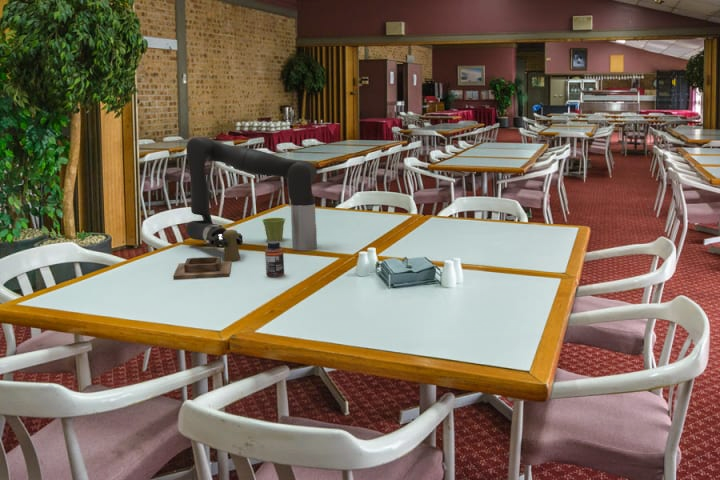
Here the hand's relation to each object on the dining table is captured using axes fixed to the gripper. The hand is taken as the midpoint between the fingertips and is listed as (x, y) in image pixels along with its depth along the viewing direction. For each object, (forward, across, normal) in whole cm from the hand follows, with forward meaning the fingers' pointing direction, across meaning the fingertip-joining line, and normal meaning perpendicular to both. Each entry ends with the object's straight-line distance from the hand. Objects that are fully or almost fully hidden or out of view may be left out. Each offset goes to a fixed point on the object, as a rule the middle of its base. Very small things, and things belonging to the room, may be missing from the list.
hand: (233, 243), depth 268 cm
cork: (-3, 0, +7) cm, 7 cm away
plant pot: (-25, +28, +7) cm, 38 cm away
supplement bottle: (+27, +3, +7) cm, 28 cm away
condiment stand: (+8, -15, +7) cm, 18 cm away
